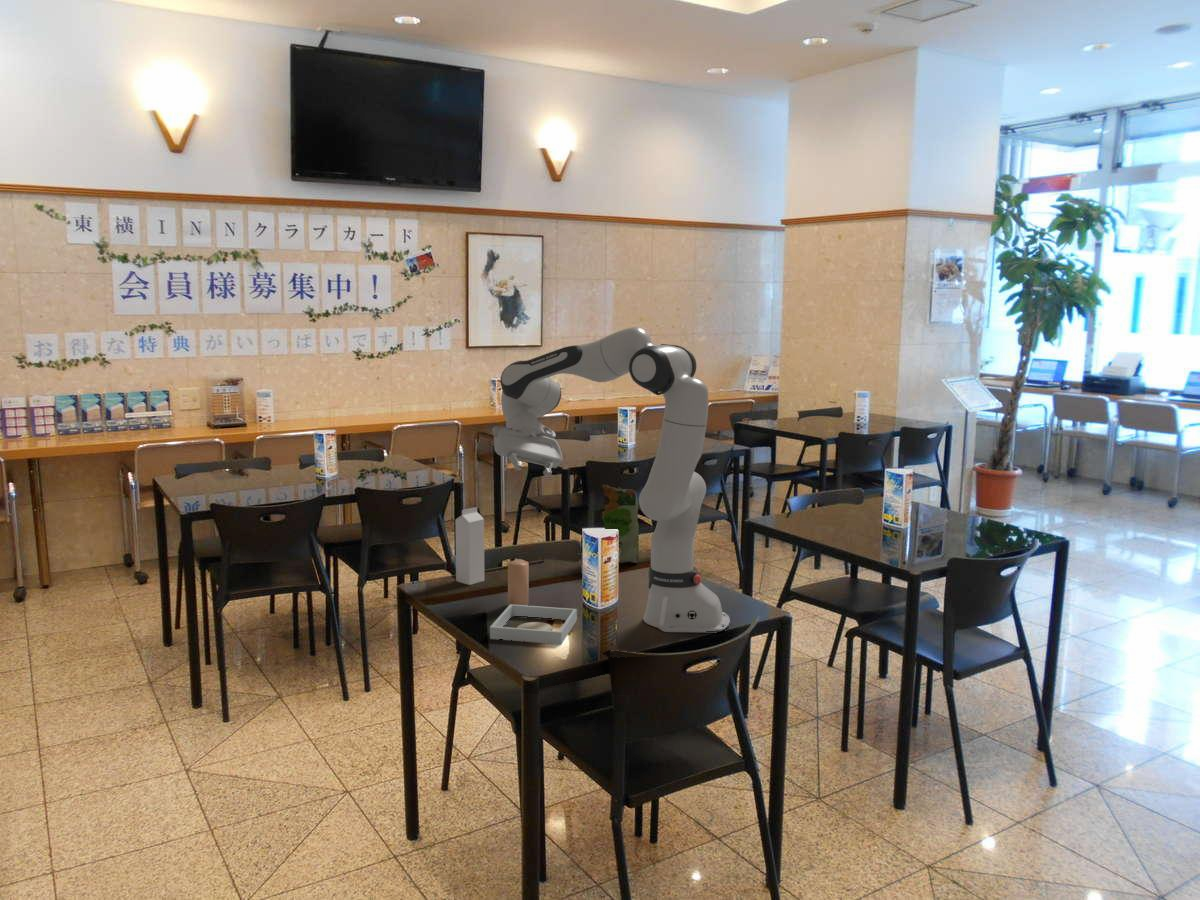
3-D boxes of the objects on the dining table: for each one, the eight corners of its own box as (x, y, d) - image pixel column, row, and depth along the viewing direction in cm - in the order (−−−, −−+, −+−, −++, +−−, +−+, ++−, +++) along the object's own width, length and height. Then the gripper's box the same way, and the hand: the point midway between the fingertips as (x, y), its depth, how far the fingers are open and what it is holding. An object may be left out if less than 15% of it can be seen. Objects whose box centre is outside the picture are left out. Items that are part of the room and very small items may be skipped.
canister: (530, 603, 255) (530, 561, 253) (525, 609, 249) (525, 566, 247) (511, 601, 256) (511, 559, 254) (505, 608, 250) (505, 565, 248)
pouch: (639, 567, 291) (640, 489, 287) (601, 567, 291) (602, 489, 287) (637, 557, 302) (638, 482, 298) (600, 557, 302) (601, 482, 298)
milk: (484, 581, 275) (484, 508, 272) (469, 585, 270) (469, 511, 267) (470, 576, 279) (470, 505, 275) (455, 581, 274) (455, 508, 271)
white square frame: (576, 620, 242) (576, 609, 241) (561, 644, 224) (561, 632, 224) (510, 615, 245) (510, 604, 244) (489, 638, 227) (489, 627, 227)
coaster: (556, 624, 238) (556, 623, 238) (547, 636, 229) (547, 635, 229) (522, 622, 240) (522, 620, 240) (512, 633, 231) (512, 632, 231)
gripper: (497, 416, 247) (506, 457, 239) (559, 433, 259) (570, 472, 251) (485, 431, 250) (494, 471, 242) (547, 447, 262) (558, 485, 254)
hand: (533, 471), depth 246 cm, fingers open, 8 cm apart
